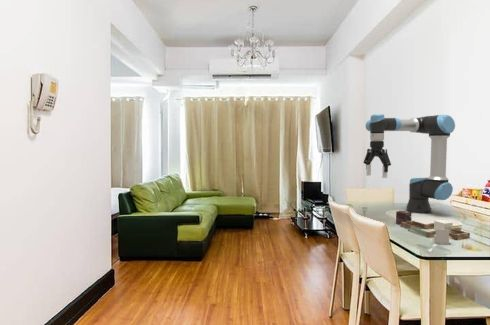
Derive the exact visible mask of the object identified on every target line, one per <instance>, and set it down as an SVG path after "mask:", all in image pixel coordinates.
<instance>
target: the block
mask: <svg viewBox="0 0 490 325" xmlns="http://www.w3.org/2000/svg"><path fill="white" fill-rule="evenodd" d="M433 223H434V228H433V231H436V229H444V230H449V232H451V228H454V227H453V222H452V221H448V220H444V219H439V220H434V222H433Z"/></svg>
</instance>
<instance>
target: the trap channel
mask: <svg viewBox="0 0 490 325" xmlns="http://www.w3.org/2000/svg"><path fill="white" fill-rule="evenodd" d="M399 225H400V224H399ZM400 228H404V229H407V232H411V233H413V234H416V235H420V236H422V237H426V238H434V233H435V234H436V230H432V229H434V222H432V223H426V224H425V223H423V222H419V221H416V220H411V221H407V222H401V225H400ZM429 229H431V230H432V231H431V230H430V231H428V230H429ZM470 235H471V233H470V232H467V231H464V230H462V228H461V227H453V228H451V232H449V236H450V237H451V238H452V239H451V240H454V241H460V240H465V239H466V240H467V239H470V238H471V236H470Z"/></svg>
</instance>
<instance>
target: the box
mask: <svg viewBox="0 0 490 325" xmlns="http://www.w3.org/2000/svg"><path fill="white" fill-rule="evenodd" d="M412 213H413V212H410V211H407V210H398V211H396V212H395V214H396V215H395V224H397V225H401V222H407V221H412Z"/></svg>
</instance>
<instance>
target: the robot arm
mask: <svg viewBox="0 0 490 325" xmlns="http://www.w3.org/2000/svg"><path fill="white" fill-rule="evenodd" d="M455 128H456V122H455V120H454V118H453V117H452V116H451V115H449V114H436V115H426V116H421V117H412V118H410V119H400V118H396V117H385V114H382V113H378V114H377V113H376V114H374V113H373V114H372V115H371V116H370V119H369V120H367V121H366V122H365V129H366V131H368V132H370V134H369V135H370V136H369V138H370V139H369V140H370V142H369V148H367V149H366V155H365V157H364V159H363V164H365V170H366V173H365V174H366V176H372V162H373V160H374V159H375V157H377V158H379V160H380V162H381V163H382V169H381V171H382V176H381V177H382V178H383V179H388V172H389V166H392V162H391V160H390V157H389V154H388V149H387V148H384V147H385V141H384V140H385V132H410V133H417V134H426V135H428V137H429V138H430V141H431V142H430V145H431V146H430V171H429V173H430V174H429V176H428V177H413V178H410V180H409V183H408V185H409V186H408V187H409V189H408V190H409V192H408V193H409V195H408V196H409V197H408V198H409V199H408V201H407V205H406V206H405V207H406V208H405V211H408V212H412V213H414V214H415V213H417V214H431V212H432V207H431V205H430V200H429V199H433V200H437V201H445V200H448V199H449V198H450V197H451V196H452V193H453V190H454V187H453V185H452V184H451V182H449V178H448V177H447V174H446V173H447V155H448V154H447V150H448V149H447V148H448V146H447V145H448V139H449V138H450V137H451V133H453V132H454V130H455Z"/></svg>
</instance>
